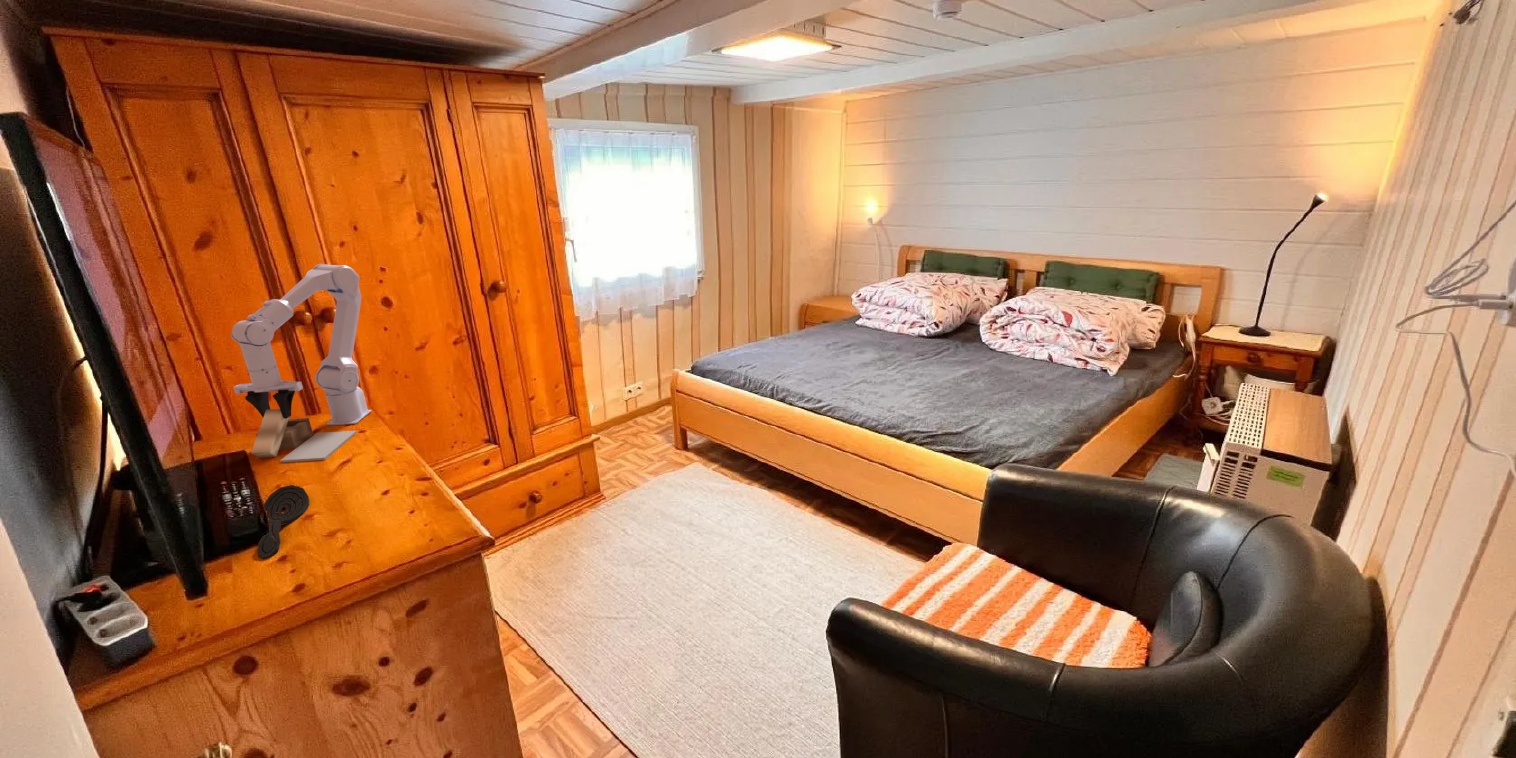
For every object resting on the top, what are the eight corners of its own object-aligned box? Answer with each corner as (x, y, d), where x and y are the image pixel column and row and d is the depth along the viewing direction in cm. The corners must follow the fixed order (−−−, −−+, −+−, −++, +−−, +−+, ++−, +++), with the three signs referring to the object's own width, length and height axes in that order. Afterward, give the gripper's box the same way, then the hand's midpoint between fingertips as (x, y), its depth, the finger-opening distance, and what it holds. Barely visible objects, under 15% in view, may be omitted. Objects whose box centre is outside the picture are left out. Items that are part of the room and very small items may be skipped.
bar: (273, 415, 152) (266, 409, 149) (290, 414, 153) (283, 408, 150) (259, 457, 146) (251, 453, 143) (276, 456, 147) (269, 452, 144)
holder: (281, 436, 158) (276, 419, 156) (313, 435, 159) (308, 418, 157) (261, 450, 150) (255, 433, 148) (295, 448, 151) (290, 431, 149)
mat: (317, 434, 159) (316, 432, 158) (357, 432, 160) (356, 430, 160) (280, 462, 144) (280, 460, 144) (325, 459, 145) (324, 457, 145)
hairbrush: (233, 554, 105) (262, 486, 126) (240, 571, 107) (267, 501, 127) (290, 541, 109) (309, 477, 129) (296, 557, 111) (313, 491, 131)
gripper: (218, 374, 141) (236, 425, 146) (284, 371, 143) (299, 422, 148) (238, 365, 148) (254, 414, 153) (301, 362, 150) (315, 411, 155)
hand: (277, 417), depth 151 cm, fingers closed on bar, 4 cm apart
